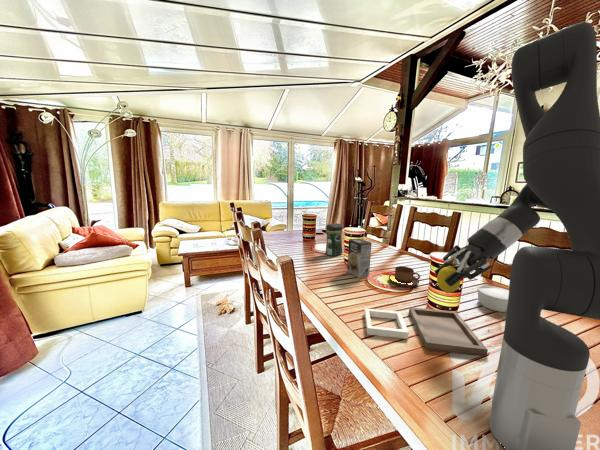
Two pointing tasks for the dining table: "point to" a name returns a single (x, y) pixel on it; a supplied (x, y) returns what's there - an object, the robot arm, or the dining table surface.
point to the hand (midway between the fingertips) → (442, 278)
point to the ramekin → (493, 298)
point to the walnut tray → (446, 332)
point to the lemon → (443, 275)
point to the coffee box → (359, 257)
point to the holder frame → (382, 330)
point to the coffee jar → (334, 239)
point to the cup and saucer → (405, 276)
